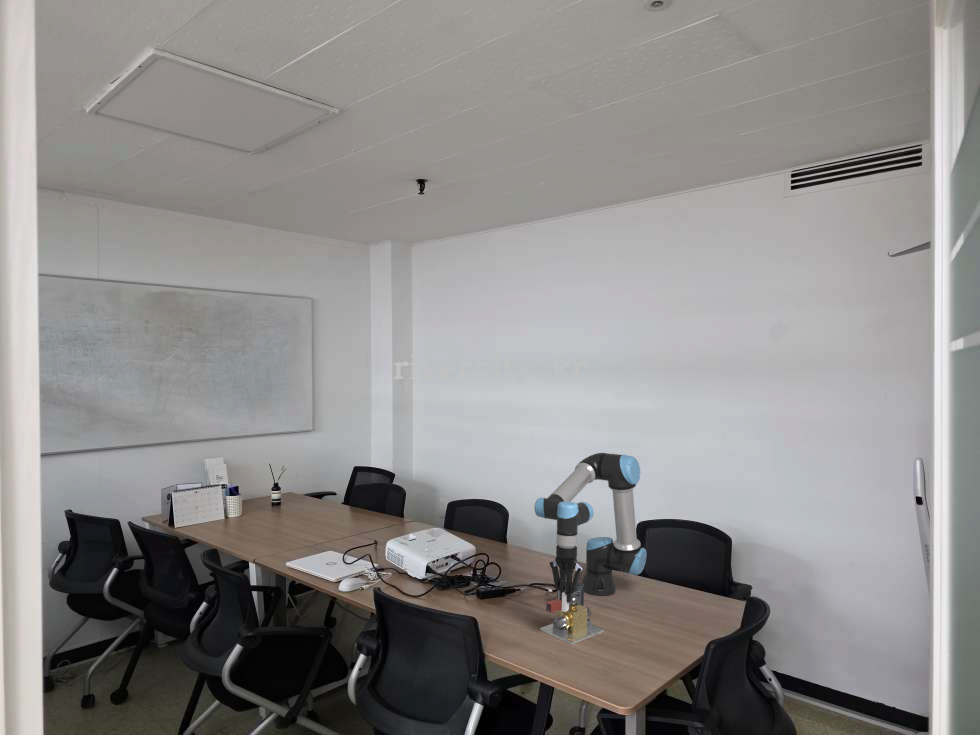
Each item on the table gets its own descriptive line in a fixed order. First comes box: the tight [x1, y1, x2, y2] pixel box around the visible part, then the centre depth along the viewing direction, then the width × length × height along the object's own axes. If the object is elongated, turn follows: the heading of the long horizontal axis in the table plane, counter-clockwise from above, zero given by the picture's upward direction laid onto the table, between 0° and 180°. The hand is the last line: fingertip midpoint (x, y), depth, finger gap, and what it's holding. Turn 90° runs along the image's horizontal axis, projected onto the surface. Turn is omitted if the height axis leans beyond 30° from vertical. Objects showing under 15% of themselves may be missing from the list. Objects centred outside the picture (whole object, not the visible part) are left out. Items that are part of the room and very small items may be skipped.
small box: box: [556, 581, 585, 607], centre depth 259 cm, size 11×6×10 cm, turn 74°
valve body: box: [539, 604, 605, 646], centre depth 237 cm, size 18×16×10 cm
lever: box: [545, 594, 578, 613], centre depth 234 cm, size 15×4×3 cm, turn 131°
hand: (565, 610), depth 227 cm, fingers closed
